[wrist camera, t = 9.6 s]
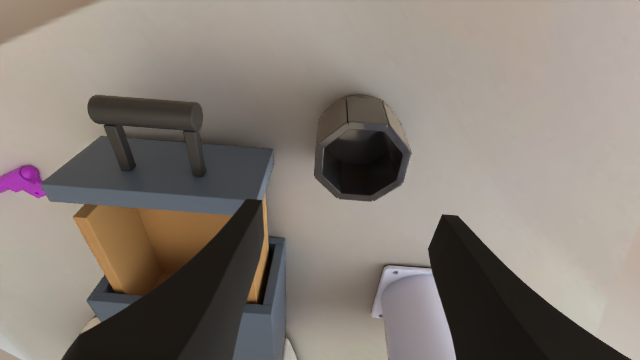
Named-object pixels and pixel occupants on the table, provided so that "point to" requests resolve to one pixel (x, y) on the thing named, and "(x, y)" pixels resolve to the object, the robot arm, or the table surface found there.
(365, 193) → the grey hollow octagonal cup
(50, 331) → the table surface
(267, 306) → the cabinet
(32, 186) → the purple bicycle pump
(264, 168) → the drawer
